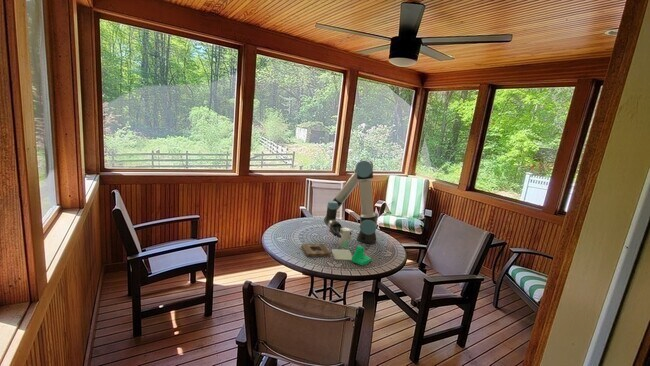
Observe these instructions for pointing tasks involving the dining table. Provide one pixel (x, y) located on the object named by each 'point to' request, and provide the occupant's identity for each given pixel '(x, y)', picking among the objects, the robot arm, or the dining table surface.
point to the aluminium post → (345, 233)
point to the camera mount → (360, 256)
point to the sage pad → (342, 254)
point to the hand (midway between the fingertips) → (347, 238)
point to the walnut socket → (310, 253)
